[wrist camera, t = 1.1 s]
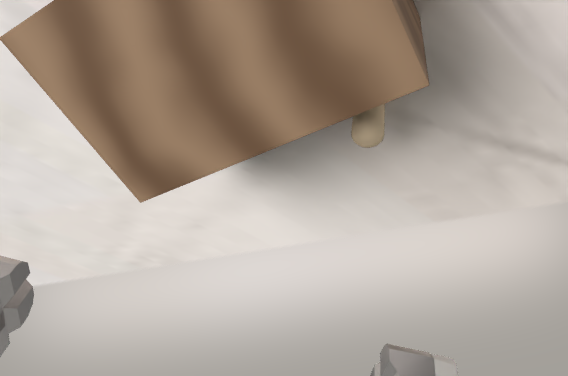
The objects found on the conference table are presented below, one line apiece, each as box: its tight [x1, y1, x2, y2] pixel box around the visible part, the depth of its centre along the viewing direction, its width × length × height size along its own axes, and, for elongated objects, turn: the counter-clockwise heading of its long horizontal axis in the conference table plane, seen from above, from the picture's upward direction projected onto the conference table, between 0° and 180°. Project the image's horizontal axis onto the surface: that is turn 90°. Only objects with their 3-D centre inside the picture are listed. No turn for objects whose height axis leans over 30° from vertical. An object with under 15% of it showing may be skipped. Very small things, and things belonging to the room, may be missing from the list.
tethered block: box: [351, 104, 385, 148], centre depth 38 cm, size 6×14×6 cm, turn 30°
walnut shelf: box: [0, 0, 429, 203], centre depth 35 cm, size 22×14×11 cm, turn 120°
